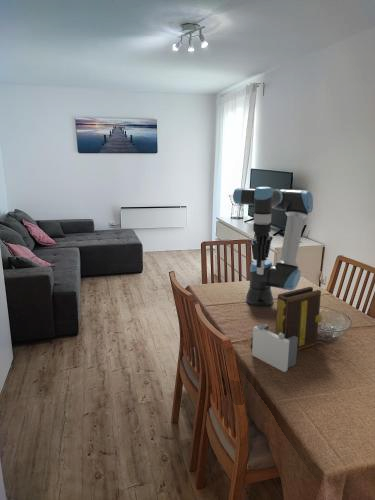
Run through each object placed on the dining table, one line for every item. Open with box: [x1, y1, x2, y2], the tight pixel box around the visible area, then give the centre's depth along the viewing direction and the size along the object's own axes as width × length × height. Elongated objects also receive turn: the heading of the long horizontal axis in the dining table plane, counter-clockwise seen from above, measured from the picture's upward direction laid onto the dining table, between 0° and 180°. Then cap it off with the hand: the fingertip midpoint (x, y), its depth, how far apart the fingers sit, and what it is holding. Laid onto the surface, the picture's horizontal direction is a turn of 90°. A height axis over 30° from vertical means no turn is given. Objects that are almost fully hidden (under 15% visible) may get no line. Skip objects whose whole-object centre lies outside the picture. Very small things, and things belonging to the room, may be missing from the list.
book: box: [275, 286, 323, 352], centre depth 157 cm, size 22×8×25 cm, turn 117°
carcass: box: [251, 323, 298, 373], centre depth 148 cm, size 8×16×15 cm, turn 40°
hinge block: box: [250, 334, 253, 346], centre depth 162 cm, size 4×4×4 cm
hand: (260, 273), depth 166 cm, fingers closed
